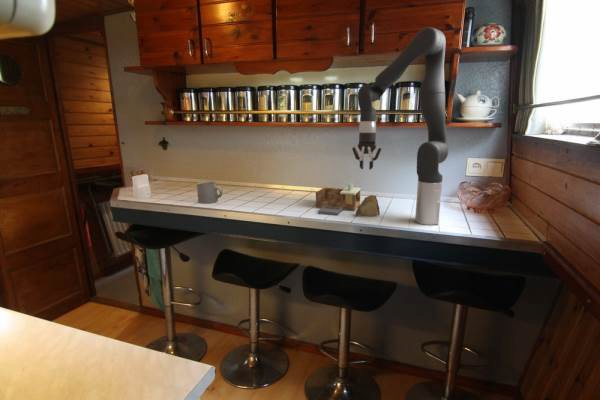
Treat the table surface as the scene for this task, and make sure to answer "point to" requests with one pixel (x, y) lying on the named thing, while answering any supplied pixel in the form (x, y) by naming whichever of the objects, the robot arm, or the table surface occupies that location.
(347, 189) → the lid
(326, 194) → the wooden drawer box
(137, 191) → the base with upright slab
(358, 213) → the rock
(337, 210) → the dish
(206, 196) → the coffee mug
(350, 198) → the block
